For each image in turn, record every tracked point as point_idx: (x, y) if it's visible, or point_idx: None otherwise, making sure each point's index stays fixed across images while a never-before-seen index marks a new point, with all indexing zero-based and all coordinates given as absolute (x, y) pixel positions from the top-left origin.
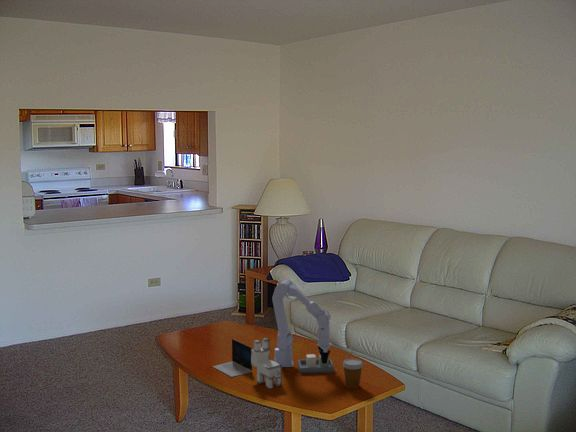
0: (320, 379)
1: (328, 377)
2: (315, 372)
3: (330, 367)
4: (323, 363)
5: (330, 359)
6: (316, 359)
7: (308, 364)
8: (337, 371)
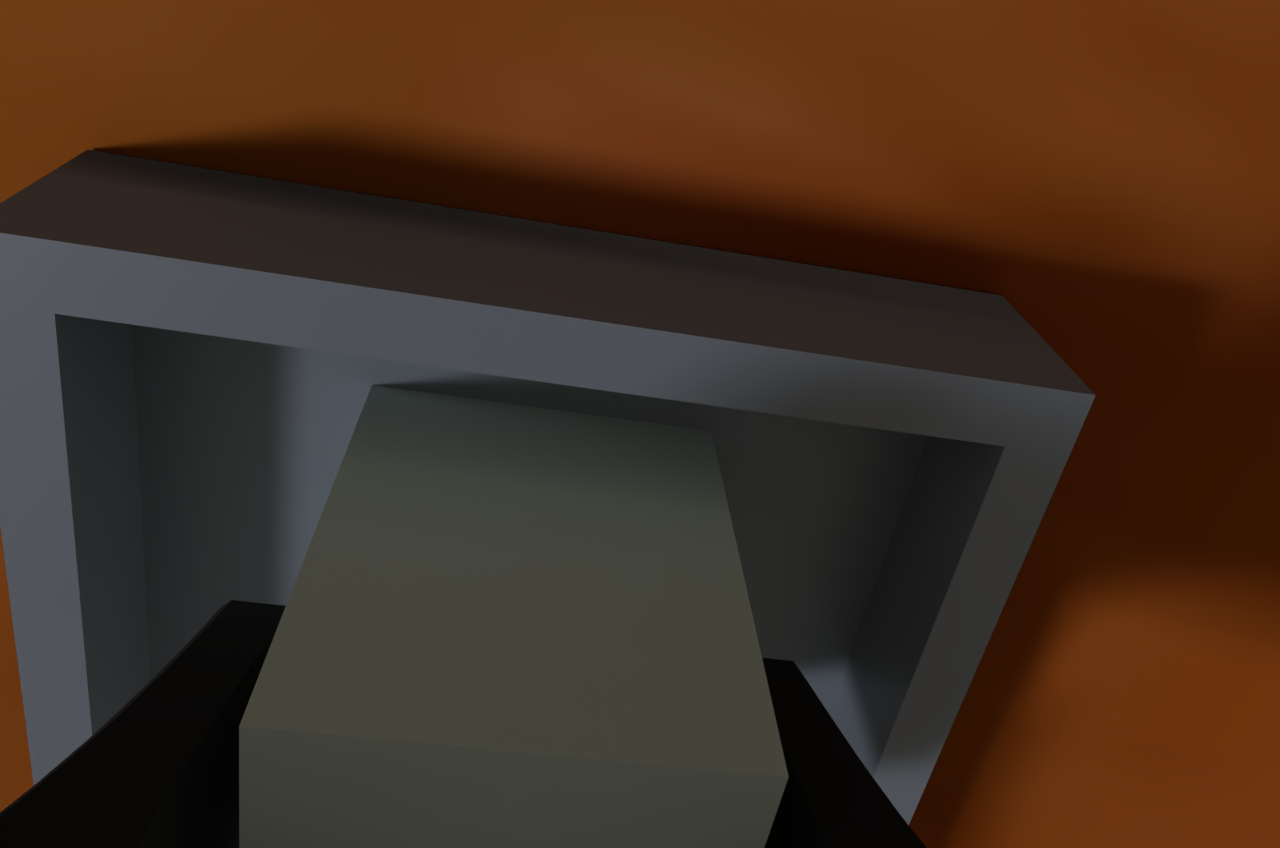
0: (1269, 751)
1: (1260, 548)
2: None
3: (1034, 518)
4: None
5: (65, 273)
6: None
7: None
8: (912, 122)
